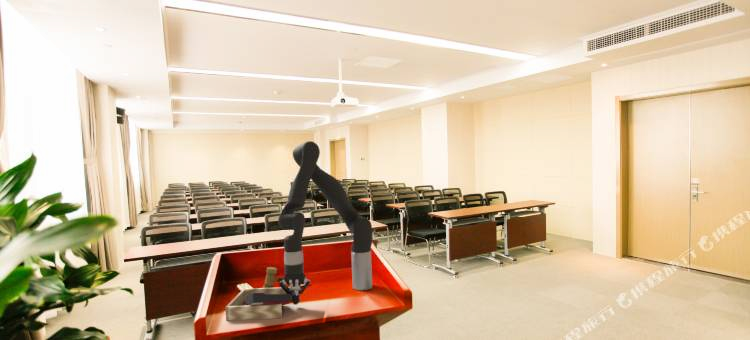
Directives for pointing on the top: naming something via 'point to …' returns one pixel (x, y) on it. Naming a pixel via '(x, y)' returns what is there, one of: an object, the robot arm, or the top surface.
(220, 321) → the top surface
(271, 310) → the beige piece
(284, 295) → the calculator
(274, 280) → the gavel
